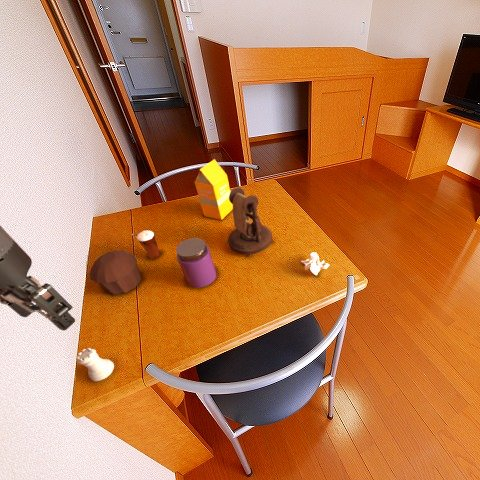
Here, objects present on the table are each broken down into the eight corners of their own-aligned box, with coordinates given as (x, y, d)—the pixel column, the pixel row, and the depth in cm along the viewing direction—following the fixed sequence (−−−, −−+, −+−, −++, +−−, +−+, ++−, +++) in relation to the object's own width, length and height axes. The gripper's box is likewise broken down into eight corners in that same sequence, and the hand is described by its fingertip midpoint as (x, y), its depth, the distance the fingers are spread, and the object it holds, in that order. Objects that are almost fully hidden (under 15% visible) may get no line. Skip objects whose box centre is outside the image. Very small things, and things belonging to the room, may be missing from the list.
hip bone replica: (331, 261, 83) (314, 269, 80) (329, 271, 86) (312, 280, 82) (315, 247, 88) (298, 254, 84) (314, 257, 91) (297, 264, 87)
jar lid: (196, 264, 72) (194, 259, 71) (171, 258, 74) (169, 253, 72) (212, 246, 78) (210, 240, 76) (189, 240, 79) (187, 235, 78)
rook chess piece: (90, 386, 58) (69, 368, 53) (92, 367, 61) (72, 349, 56) (115, 375, 60) (96, 358, 55) (115, 358, 63) (98, 339, 58)
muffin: (109, 271, 83) (92, 246, 76) (149, 265, 85) (136, 241, 79) (95, 302, 74) (74, 277, 68) (140, 295, 76) (124, 270, 70)
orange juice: (204, 216, 105) (189, 167, 92) (217, 204, 112) (205, 157, 99) (222, 220, 104) (209, 171, 91) (234, 207, 110) (224, 160, 97)
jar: (206, 290, 78) (195, 262, 71) (180, 284, 80) (167, 255, 72) (222, 270, 85) (213, 241, 77) (198, 264, 86) (187, 236, 79)
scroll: (220, 243, 94) (206, 192, 81) (254, 224, 103) (246, 175, 90) (247, 264, 87) (237, 212, 74) (281, 241, 96) (277, 191, 83)
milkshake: (144, 253, 89) (131, 228, 83) (162, 248, 91) (151, 224, 84) (144, 262, 86) (130, 237, 80) (162, 257, 88) (151, 233, 81)
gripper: (-101, 258, 35) (-6, 326, 46) (-20, 284, 33) (60, 350, 43) (-30, 224, 41) (39, 292, 51) (44, 244, 38) (101, 311, 49)
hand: (49, 319), depth 47 cm, fingers open, 8 cm apart
